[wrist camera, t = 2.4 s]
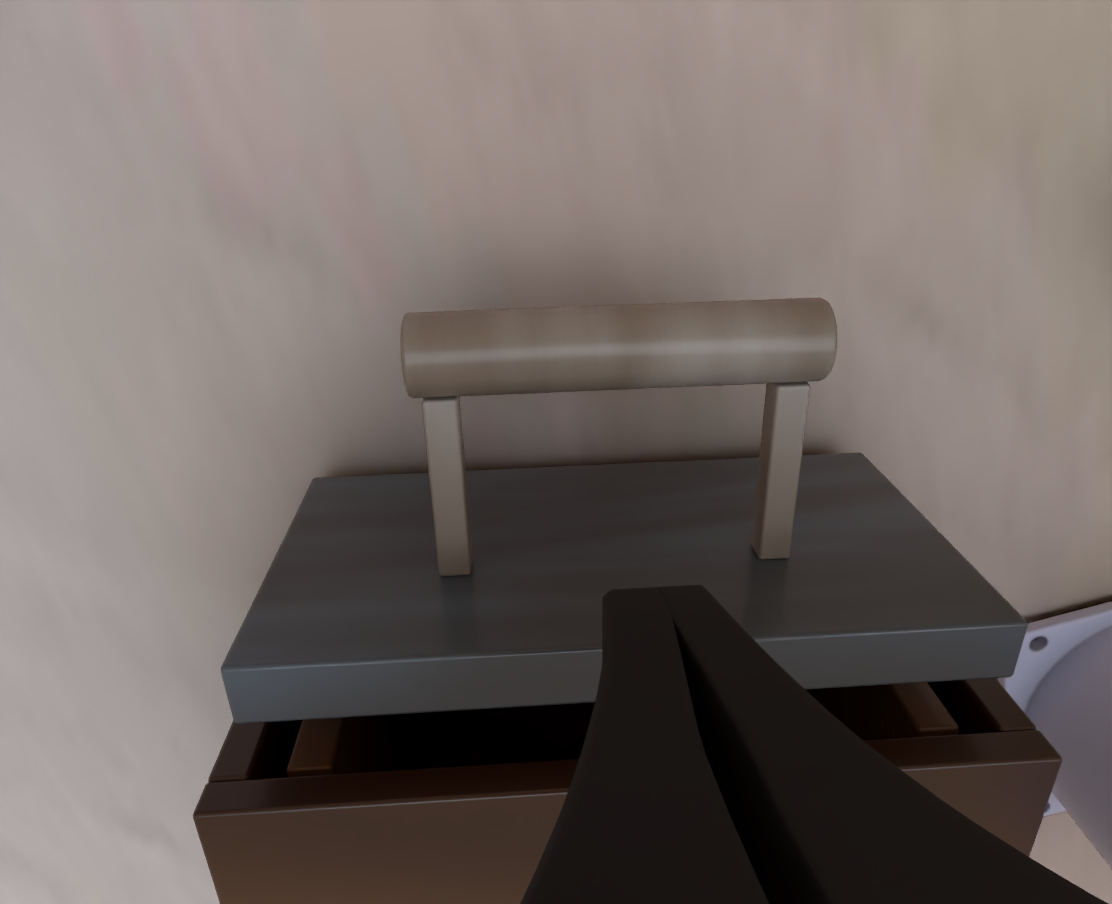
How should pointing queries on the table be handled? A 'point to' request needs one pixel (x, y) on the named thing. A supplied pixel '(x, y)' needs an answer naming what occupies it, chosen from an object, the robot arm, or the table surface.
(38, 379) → the table surface
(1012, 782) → the cabinet
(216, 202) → the table surface
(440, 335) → the drawer
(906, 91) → the table surface
